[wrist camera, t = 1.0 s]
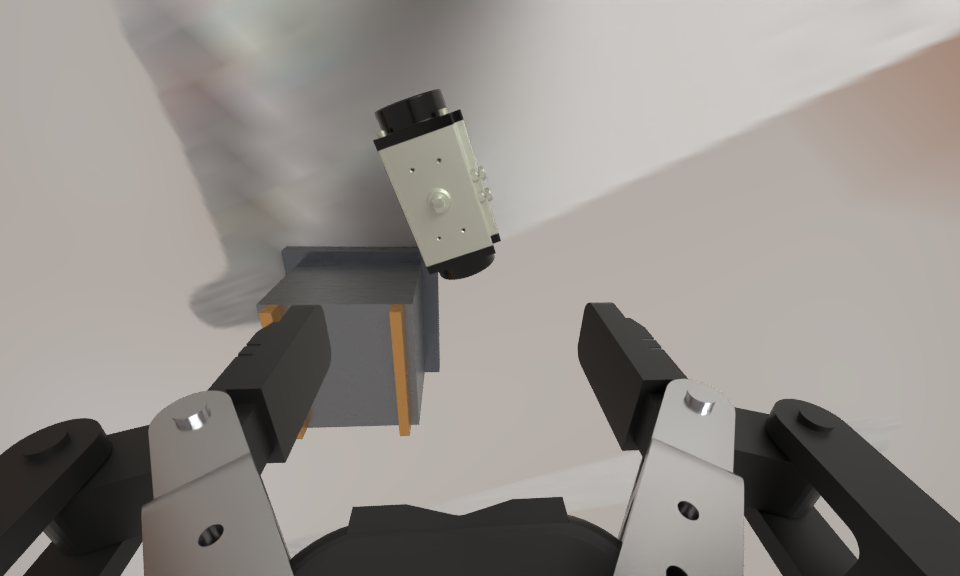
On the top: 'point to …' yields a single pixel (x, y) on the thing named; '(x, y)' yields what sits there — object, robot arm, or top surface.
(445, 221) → the pneumatic valve
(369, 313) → the orange-striped grey block
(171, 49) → the top surface
